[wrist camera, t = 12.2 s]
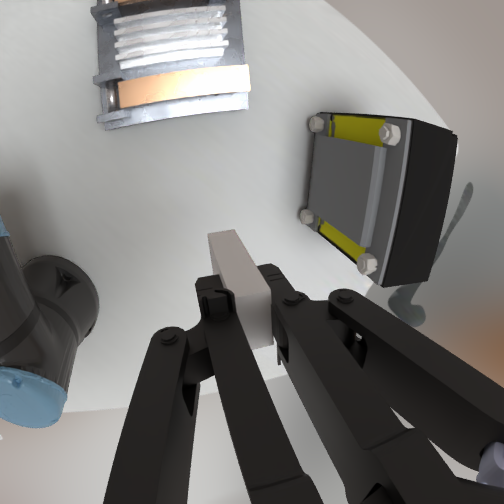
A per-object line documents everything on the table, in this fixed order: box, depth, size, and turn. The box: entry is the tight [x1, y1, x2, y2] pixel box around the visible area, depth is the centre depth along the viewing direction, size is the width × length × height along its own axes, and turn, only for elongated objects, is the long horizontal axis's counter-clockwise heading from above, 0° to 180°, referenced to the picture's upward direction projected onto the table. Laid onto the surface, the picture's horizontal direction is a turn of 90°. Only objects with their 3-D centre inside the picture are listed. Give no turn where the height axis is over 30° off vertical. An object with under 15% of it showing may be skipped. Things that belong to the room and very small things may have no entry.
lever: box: [118, 65, 250, 109], centre depth 29 cm, size 14×3×1 cm, turn 94°
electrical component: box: [300, 112, 458, 288], centre depth 37 cm, size 18×10×20 cm, turn 176°
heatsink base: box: [91, 0, 249, 130], centre depth 29 cm, size 18×20×9 cm
